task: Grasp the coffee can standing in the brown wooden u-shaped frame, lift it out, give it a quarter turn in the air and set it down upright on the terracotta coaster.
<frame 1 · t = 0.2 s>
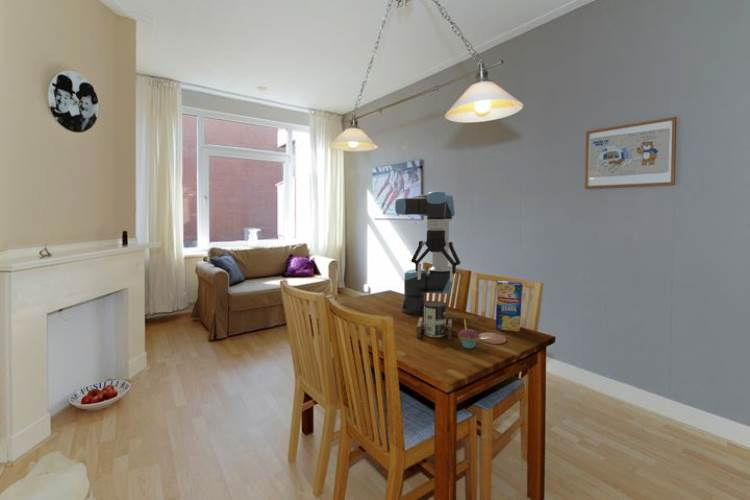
hand: (435, 280, 152), 27 cm above the table, fingers open, 13 cm apart
blue cardboard box: (507, 328, 174), on the table
coffee can: (434, 333, 166), on the table
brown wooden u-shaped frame: (434, 333, 166), on the table
coaster: (491, 338, 159), on the table
cupcake: (468, 346, 151), on the table
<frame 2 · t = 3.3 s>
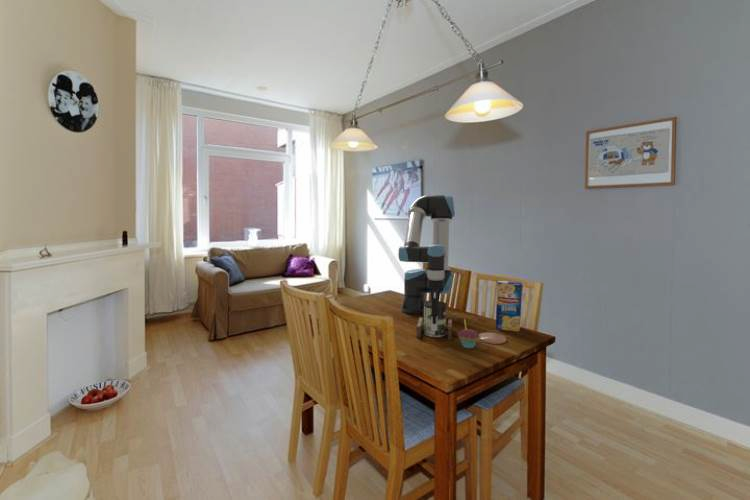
hand: (434, 326, 166), 3 cm above the table, fingers closed on coffee can, 10 cm apart
coffee can: (434, 333, 166), on the table, touching gripper
everything else where it was.
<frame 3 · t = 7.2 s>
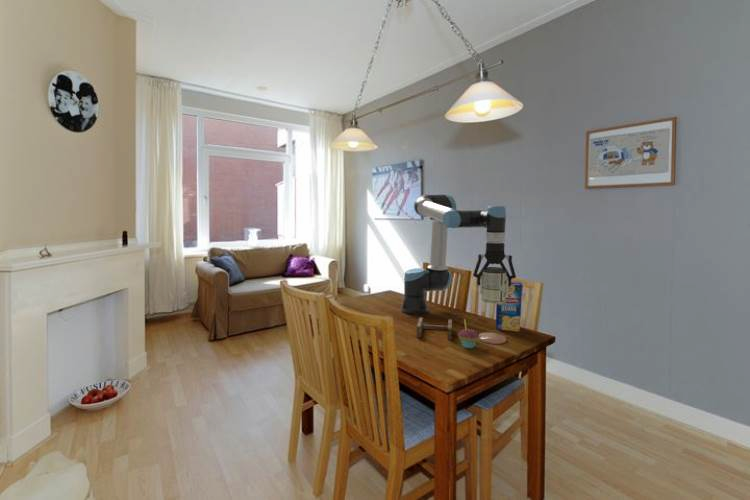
hand: (493, 293, 157), 20 cm above the table, fingers closed on coffee can, 10 cm apart
coffee can: (493, 301, 157), point 17 cm above the table, touching gripper
everything else where it was.
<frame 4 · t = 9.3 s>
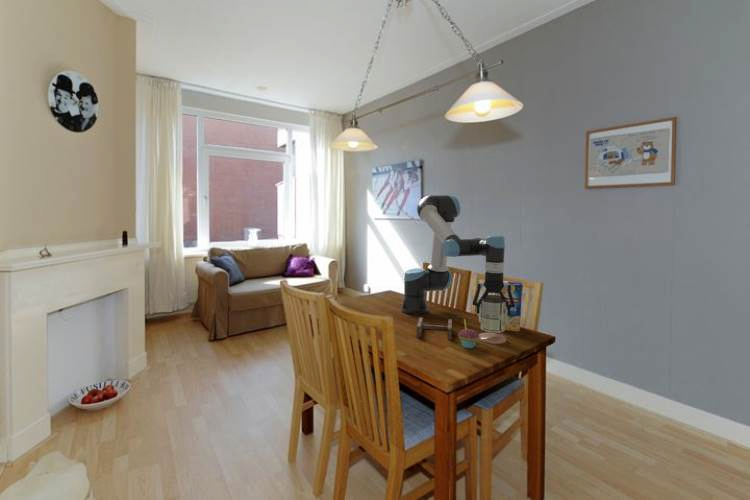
hand: (492, 321, 158), 8 cm above the table, fingers closed on coffee can, 10 cm apart
coffee can: (492, 329, 159), point 4 cm above the table, touching gripper
everything else where it was.
when the fingers open (6 cm above the table, at t = 10.8 s): coffee can drops 2 cm, resting on coaster.
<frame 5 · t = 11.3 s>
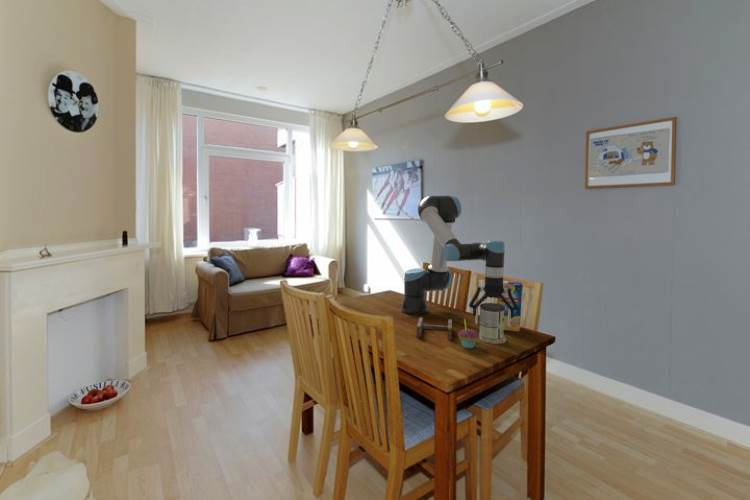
hand: (492, 324, 158), 7 cm above the table, fingers open, 13 cm apart
coffee can: (491, 337, 159), point 1 cm above the table, touching coaster
everything else where it was.
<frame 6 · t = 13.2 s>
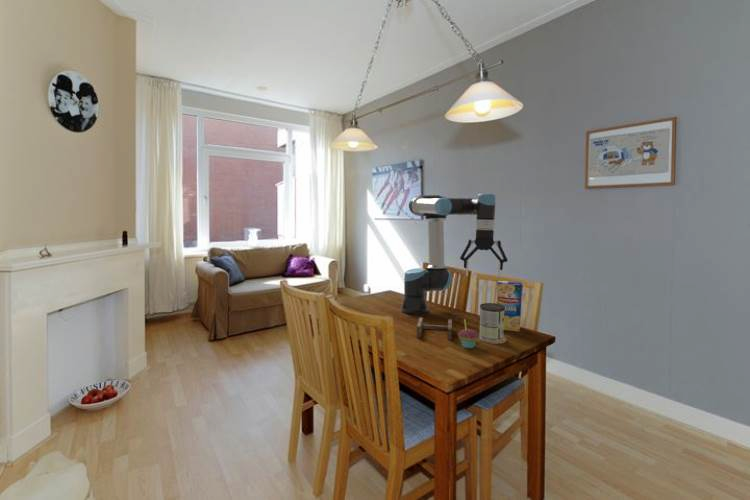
hand: (482, 276, 163), 27 cm above the table, fingers open, 13 cm apart
nothing on the table moved.
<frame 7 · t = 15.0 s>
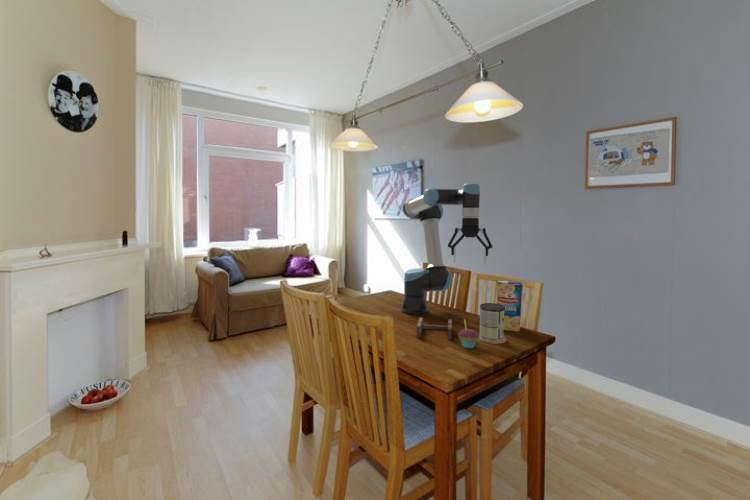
hand: (469, 262, 170), 32 cm above the table, fingers open, 13 cm apart
nothing on the table moved.
at the end: coffee can inside the target area on the coaster (0.3 cm from its centre), point 0.6 cm above the coaster's base; coffee can tilted 0°; the gripper is holding nothing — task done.
